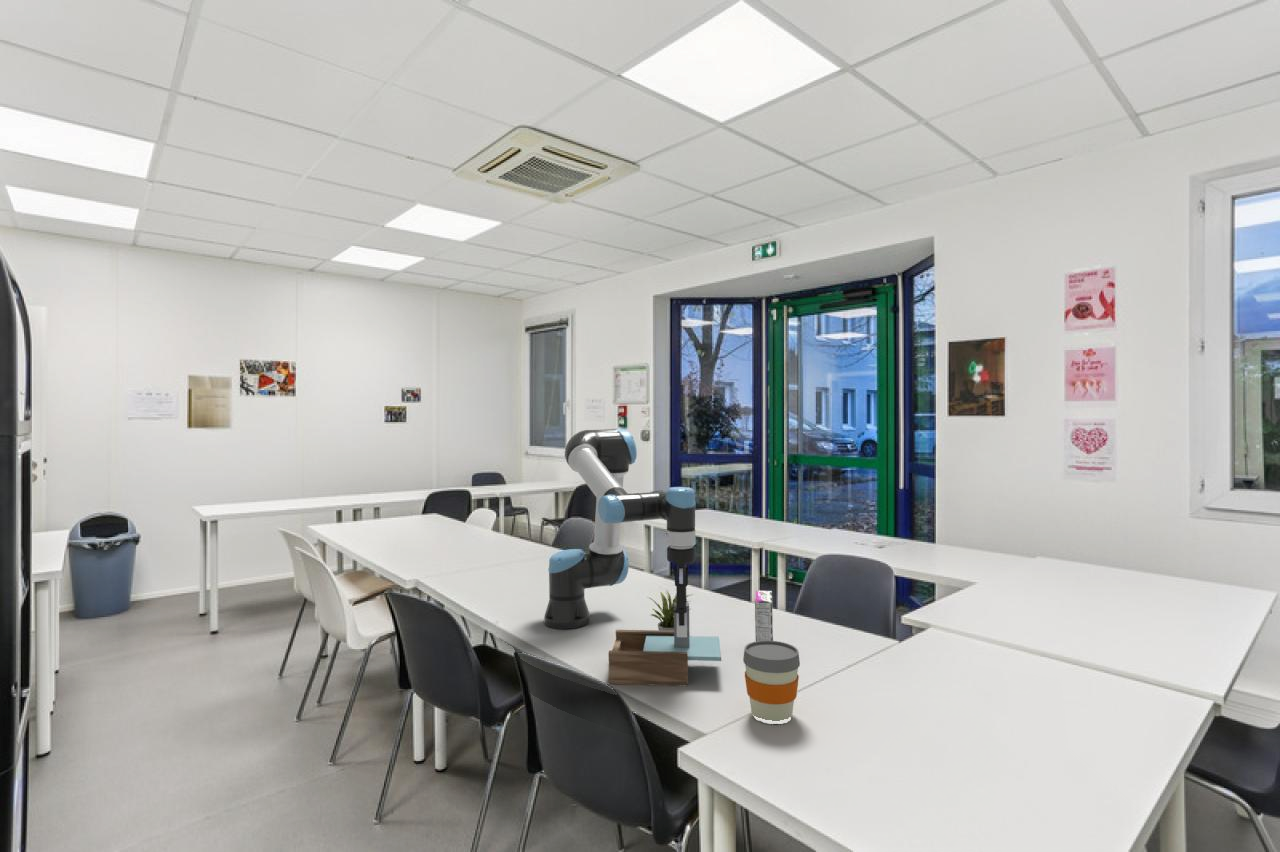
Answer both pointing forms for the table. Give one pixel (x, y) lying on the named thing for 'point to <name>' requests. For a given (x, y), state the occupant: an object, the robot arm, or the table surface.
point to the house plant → (666, 613)
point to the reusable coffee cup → (771, 678)
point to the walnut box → (645, 661)
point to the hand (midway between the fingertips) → (681, 634)
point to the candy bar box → (763, 616)
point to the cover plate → (695, 650)
